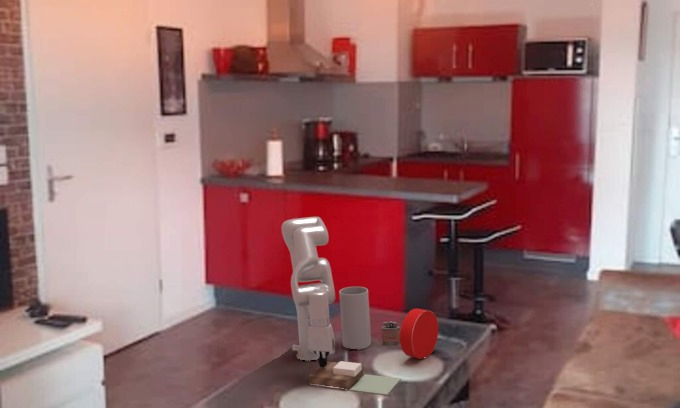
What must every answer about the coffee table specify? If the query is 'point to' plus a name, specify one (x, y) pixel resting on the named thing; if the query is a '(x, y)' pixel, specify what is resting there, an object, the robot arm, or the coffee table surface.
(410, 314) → the toy clock
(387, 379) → the mat
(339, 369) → the tile
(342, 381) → the plate
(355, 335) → the cylinder vase
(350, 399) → the coffee table surface
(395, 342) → the lighter
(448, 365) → the coffee table surface
